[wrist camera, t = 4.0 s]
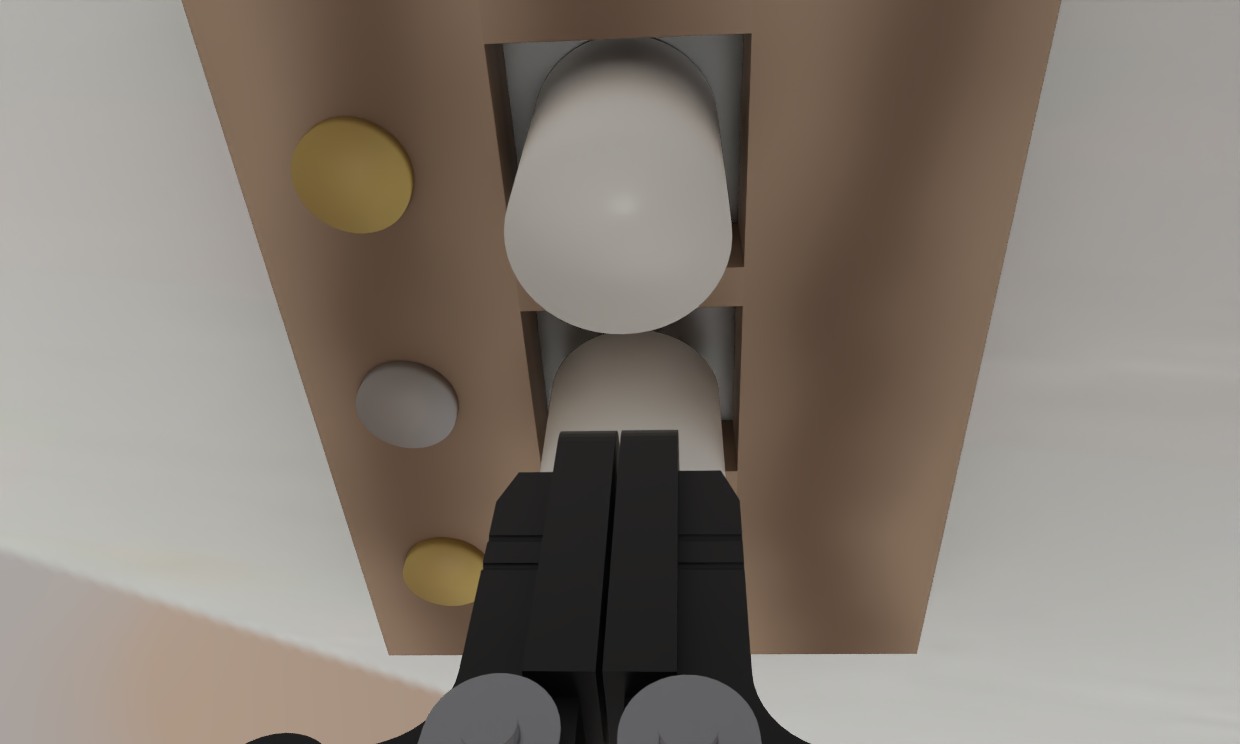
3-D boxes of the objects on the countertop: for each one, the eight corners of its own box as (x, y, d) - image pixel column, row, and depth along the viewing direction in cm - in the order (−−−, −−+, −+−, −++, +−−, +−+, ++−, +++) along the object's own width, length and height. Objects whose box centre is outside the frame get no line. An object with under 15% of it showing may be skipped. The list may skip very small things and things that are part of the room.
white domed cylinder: (719, 30, 19) (735, 128, 15) (716, 207, 22) (730, 331, 18) (524, 38, 20) (489, 136, 16) (543, 212, 22) (518, 336, 18)
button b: (720, 327, 21) (734, 481, 17) (718, 459, 24) (729, 621, 20) (544, 331, 22) (517, 484, 18) (559, 461, 24) (539, 622, 20)
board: (1038, -93, 18) (1084, -62, 16) (902, 600, 30) (919, 665, 28) (213, -54, 19) (163, -21, 17) (402, 603, 31) (385, 666, 29)
